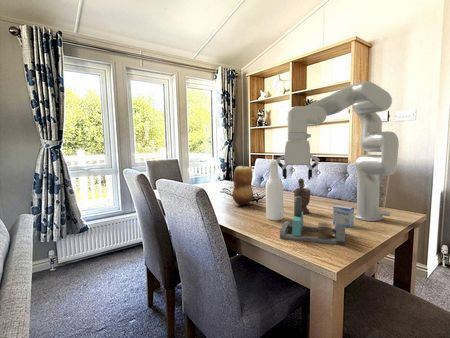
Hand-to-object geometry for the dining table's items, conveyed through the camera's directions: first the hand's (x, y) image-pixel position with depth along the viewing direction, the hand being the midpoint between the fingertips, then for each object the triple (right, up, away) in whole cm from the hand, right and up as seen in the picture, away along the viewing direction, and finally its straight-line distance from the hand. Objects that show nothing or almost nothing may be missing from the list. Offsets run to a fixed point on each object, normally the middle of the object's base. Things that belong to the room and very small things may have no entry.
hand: (297, 178), depth 103 cm
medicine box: (+25, -22, +12) cm, 35 cm away
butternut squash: (-18, -19, +57) cm, 63 cm away
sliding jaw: (+1, -22, +2) cm, 22 cm away
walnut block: (+11, -24, -1) cm, 26 cm away
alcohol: (-4, -22, +26) cm, 34 cm away
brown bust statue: (+13, -20, +33) cm, 41 cm away
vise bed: (+6, -24, 0) cm, 24 cm away
